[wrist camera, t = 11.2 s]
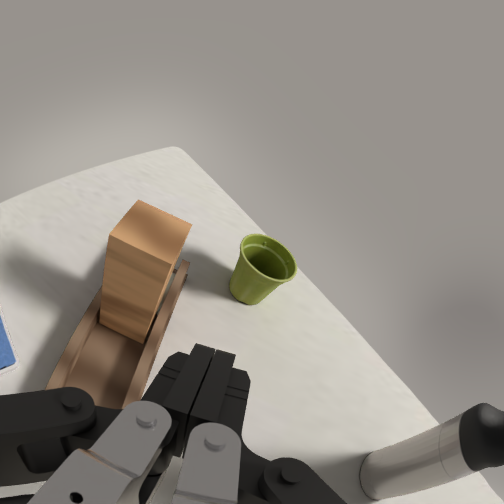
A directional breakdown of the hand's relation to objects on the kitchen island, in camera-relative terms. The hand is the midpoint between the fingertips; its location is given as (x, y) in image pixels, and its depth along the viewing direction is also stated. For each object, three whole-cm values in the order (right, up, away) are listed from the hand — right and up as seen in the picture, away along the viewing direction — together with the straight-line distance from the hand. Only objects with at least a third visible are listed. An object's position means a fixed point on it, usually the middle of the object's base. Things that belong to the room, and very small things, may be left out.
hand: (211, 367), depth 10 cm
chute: (-15, -7, +22) cm, 27 cm away
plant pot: (0, -2, +39) cm, 39 cm away
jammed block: (-14, -4, +24) cm, 28 cm away
